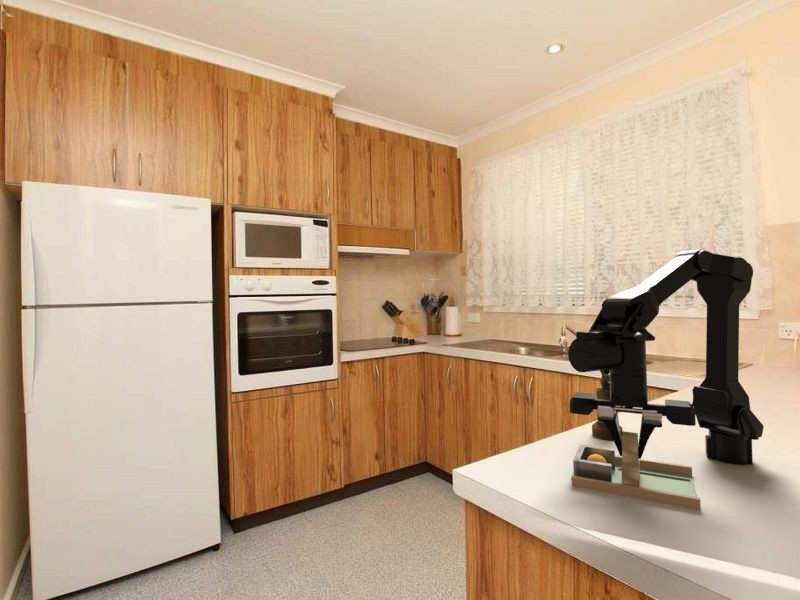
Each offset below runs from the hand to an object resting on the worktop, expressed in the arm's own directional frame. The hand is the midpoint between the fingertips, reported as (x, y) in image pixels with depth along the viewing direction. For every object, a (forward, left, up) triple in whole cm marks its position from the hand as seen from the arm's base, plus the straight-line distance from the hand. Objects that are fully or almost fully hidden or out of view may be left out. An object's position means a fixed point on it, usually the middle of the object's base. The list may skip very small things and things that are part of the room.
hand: (630, 456), depth 73 cm
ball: (+5, 0, -2) cm, 6 cm away
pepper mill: (+6, -27, -5) cm, 28 cm away
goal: (+6, 0, -4) cm, 7 cm away
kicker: (0, 0, -4) cm, 4 cm away
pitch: (0, 0, -5) cm, 5 cm away
